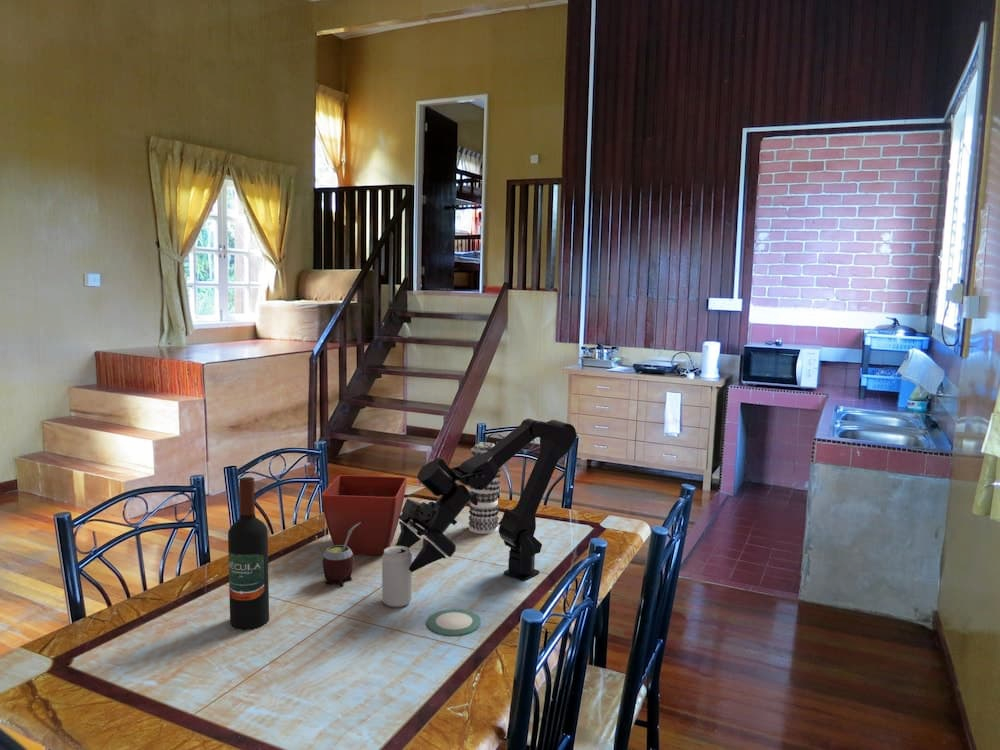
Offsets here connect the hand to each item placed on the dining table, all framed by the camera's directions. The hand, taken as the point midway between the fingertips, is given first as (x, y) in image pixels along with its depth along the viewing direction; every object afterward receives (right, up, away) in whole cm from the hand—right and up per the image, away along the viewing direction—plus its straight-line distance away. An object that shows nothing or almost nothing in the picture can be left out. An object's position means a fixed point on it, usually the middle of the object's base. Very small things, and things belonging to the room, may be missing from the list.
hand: (401, 563), depth 157 cm
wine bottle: (-30, -9, -10) cm, 33 cm away
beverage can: (-1, -9, 0) cm, 9 cm away
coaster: (+12, -10, -9) cm, 18 cm away
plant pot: (-14, -5, +34) cm, 37 cm away
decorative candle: (+17, -3, +50) cm, 53 cm away
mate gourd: (-16, -7, +11) cm, 20 cm away
